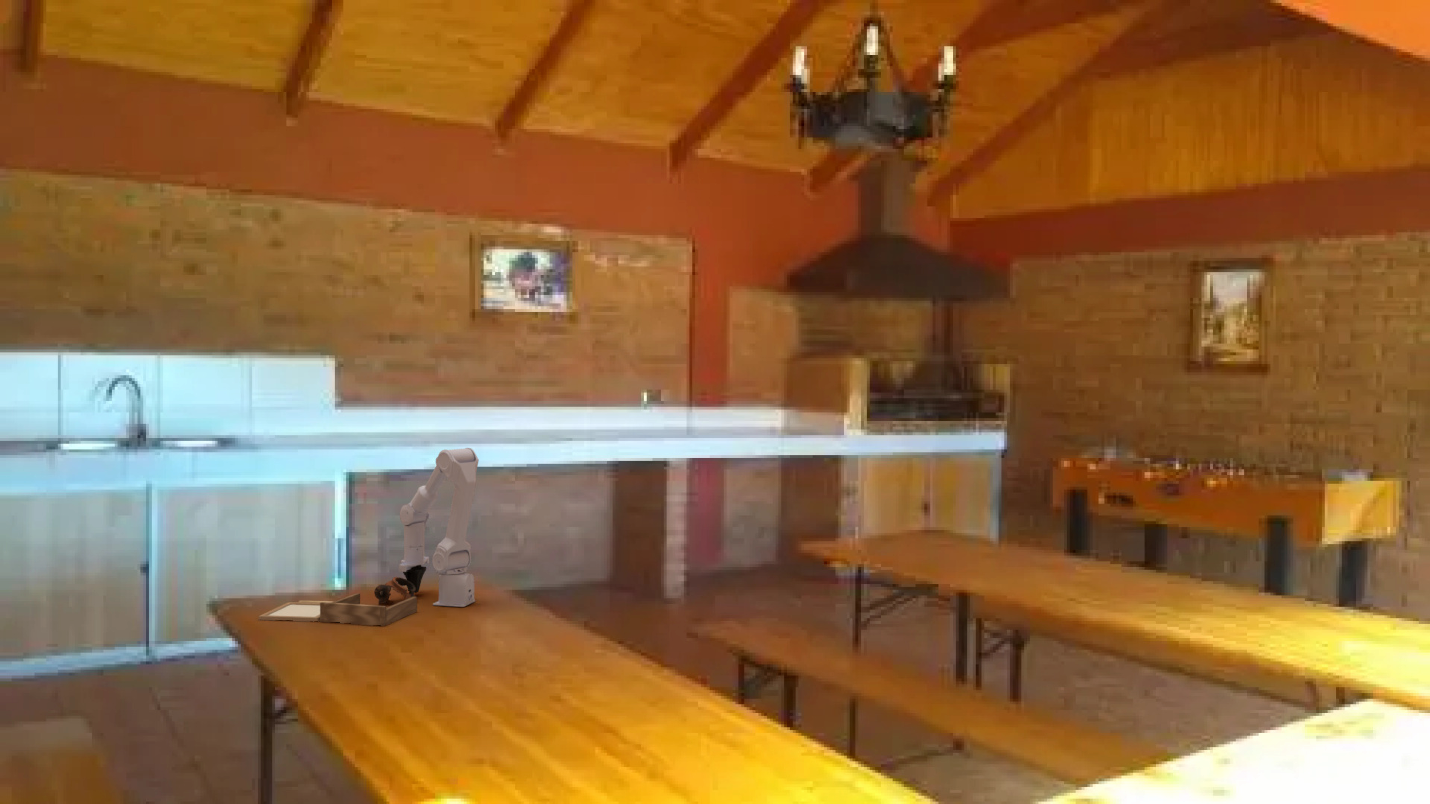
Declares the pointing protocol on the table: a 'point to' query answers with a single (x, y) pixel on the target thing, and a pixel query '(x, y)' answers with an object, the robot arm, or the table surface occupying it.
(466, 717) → the table surface
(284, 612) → the lid
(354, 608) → the wooden tray
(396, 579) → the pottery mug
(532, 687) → the table surface
